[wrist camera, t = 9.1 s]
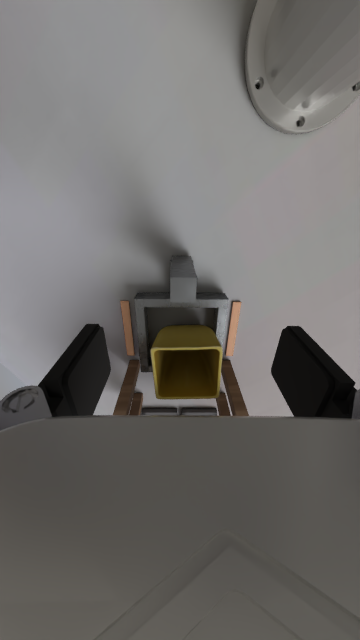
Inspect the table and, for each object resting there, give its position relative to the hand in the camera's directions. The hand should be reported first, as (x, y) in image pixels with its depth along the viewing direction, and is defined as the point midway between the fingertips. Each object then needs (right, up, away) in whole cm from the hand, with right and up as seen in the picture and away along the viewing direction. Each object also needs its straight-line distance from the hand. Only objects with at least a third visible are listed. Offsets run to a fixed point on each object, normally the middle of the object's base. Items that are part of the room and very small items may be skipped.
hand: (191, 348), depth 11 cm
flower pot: (0, -1, +24) cm, 24 cm away
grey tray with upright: (0, +2, +22) cm, 22 cm away
